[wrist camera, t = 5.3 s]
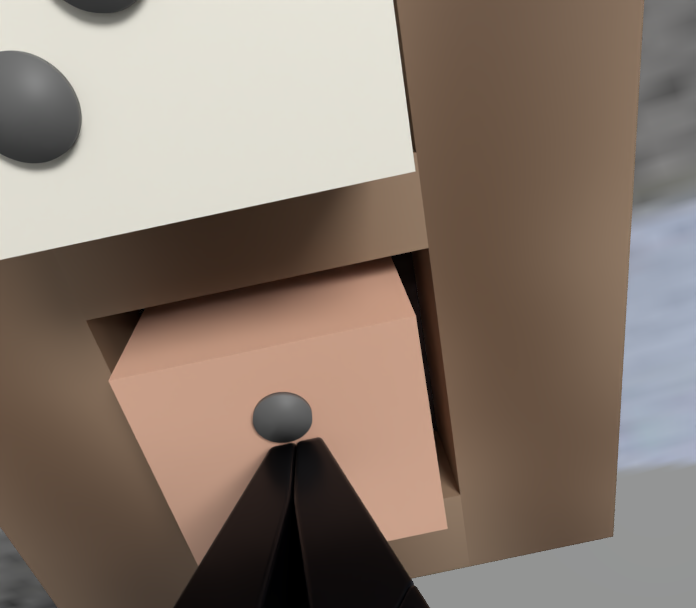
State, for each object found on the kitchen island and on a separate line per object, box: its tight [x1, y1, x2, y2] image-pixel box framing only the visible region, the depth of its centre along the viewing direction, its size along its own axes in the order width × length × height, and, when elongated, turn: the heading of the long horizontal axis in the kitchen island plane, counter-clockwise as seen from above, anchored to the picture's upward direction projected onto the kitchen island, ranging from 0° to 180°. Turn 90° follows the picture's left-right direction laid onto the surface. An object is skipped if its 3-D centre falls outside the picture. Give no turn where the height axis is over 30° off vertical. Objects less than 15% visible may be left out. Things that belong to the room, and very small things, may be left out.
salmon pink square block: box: [108, 256, 448, 566], centre depth 10 cm, size 4×4×3 cm
